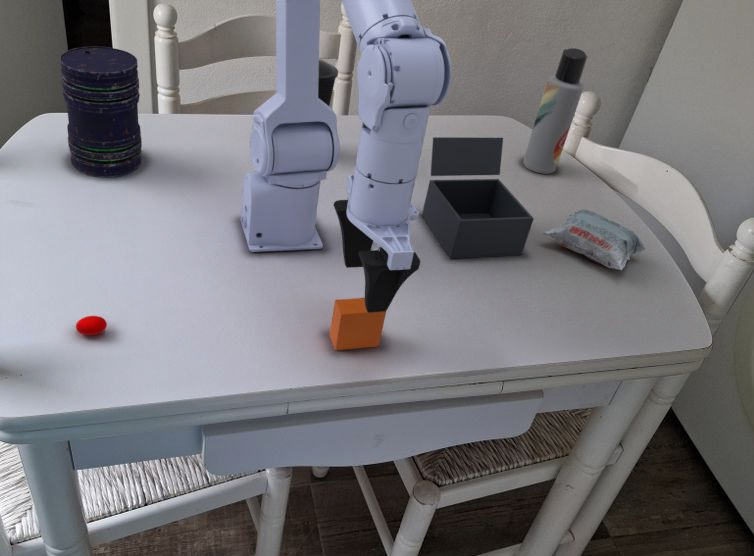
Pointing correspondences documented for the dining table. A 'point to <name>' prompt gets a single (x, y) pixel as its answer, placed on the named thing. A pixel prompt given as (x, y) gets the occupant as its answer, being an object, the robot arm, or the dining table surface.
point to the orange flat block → (355, 325)
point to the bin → (476, 218)
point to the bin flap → (466, 156)
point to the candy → (91, 325)
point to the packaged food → (597, 239)
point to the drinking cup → (326, 81)
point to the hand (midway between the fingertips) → (364, 286)
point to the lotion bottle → (556, 113)
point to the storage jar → (102, 110)
